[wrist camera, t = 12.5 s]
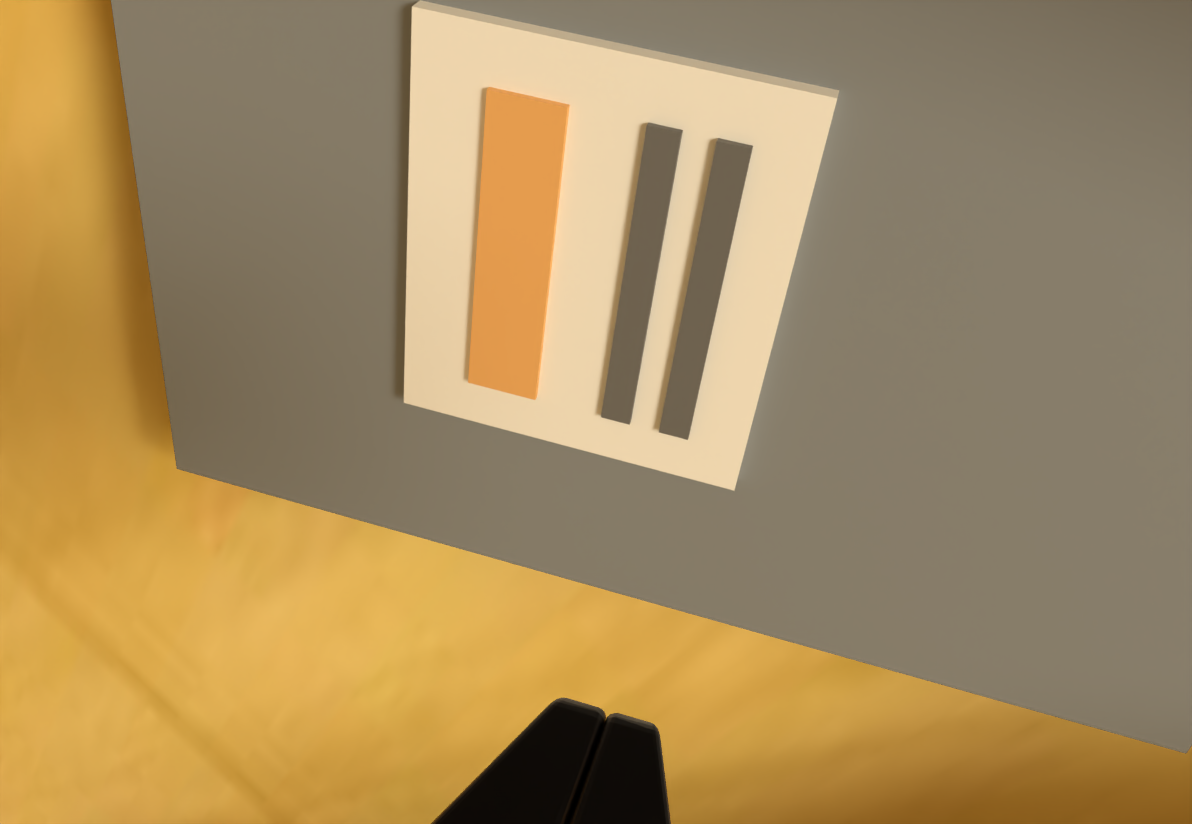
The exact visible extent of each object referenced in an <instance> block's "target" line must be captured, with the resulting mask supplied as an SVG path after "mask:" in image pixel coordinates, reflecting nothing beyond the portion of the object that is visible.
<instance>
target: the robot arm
mask: <svg viewBox="0 0 1192 824" xmlns="http://www.w3.org/2000/svg"><path fill="white" fill-rule="evenodd" d="M431 824H671V821H670V813H669V805H668V797H667V789H666V781H665V773H664V764H663V756H662V748H661V740H660V734H659V731H658V729H657V727H656V726H655V725H654V724H652V723H650V722H647V721H643V720H640V719H636V718H633V717H629V716H626V715H623V714H619V713H614V714H610V715H609V716H608V717H607V719H606V715H605V712H604V711H603V710H602V709H600V708H599V707H595V706H592V705H588V704H585V703H582V702H578V701H575V700H571V699H568V698H559V699H556V700H555V701H553V702H552V703H551V704H550V705H548V706H547V707H546V708H545V709H544V710H543V711H542V712H541V713H540V714H539V715H538V716H537V717H536V718H535V719H534V720H533V721H532V722H531V723H530V724H529V725H528V727H527V728H526V729H525V730H524V731H523V732H522V733H521V734H520V735H519V736H518V737H517V738H516V739H515V740H514V741H513V742H512V743H511V744H510V745H509V746H508V747H507V748H506V749H505V750H504V751H503V752H502V753H501V754H500V755H499V756H498V757H497V758H496V759H495V760H494V761H493V762H492V763H491V764H490V765H489V766H488V767H487V768H486V769H485V770H484V771H483V772H482V773H481V774H480V775H479V776H478V777H477V778H476V779H475V780H474V781H473V782H472V783H471V784H470V785H469V786H468V787H467V788H466V789H465V790H464V791H463V792H462V793H461V794H460V795H459V796H458V797H457V798H456V799H455V800H454V801H453V802H452V803H451V804H450V805H449V806H448V807H447V808H446V809H445V810H444V811H443V812H442V813H441V814H440V815H439V816H438V817H437V818H436V819H435V820H434V821H433V822H432V823H431Z"/></svg>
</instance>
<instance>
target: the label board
mask: <svg viewBox="0 0 1192 824" xmlns="http://www.w3.org/2000/svg"><path fill="white" fill-rule="evenodd" d="M111 5H112V12H113V19H114V26H115V33H116V40H117V47H118V54H119V62H120V69H121V76H122V83H123V90H124V97H125V104H126V111H127V118H128V125H129V133H130V140H131V147H132V154H133V161H134V168H135V175H136V182H137V189H138V196H139V203H140V211H141V218H142V225H143V232H144V239H145V246H146V253H147V260H148V267H149V274H150V281H151V289H152V296H153V303H154V310H155V317H156V324H157V331H158V338H159V345H160V352H161V360H162V367H163V374H164V381H165V388H166V395H167V402H168V409H169V416H170V423H171V430H172V438H173V445H174V452H175V459H176V466H177V469H179V470H183V471H187V472H190V473H194V474H197V475H201V476H204V477H208V478H211V479H215V480H218V481H222V482H226V483H229V484H233V485H236V486H240V487H243V488H247V489H250V490H254V491H257V492H261V493H265V494H268V495H272V496H275V497H279V498H282V499H286V500H289V501H293V502H296V503H300V504H304V505H307V506H311V507H314V508H318V509H321V510H325V511H328V512H332V513H335V514H339V515H343V516H346V517H350V518H353V519H357V520H360V521H364V522H367V523H371V524H374V525H378V526H381V527H385V528H389V529H392V530H396V531H399V532H403V533H406V534H410V535H413V536H417V537H420V538H424V539H428V540H431V541H435V542H438V543H442V544H445V545H449V546H452V547H456V548H459V549H463V550H467V551H470V552H474V553H477V554H481V555H484V556H488V557H491V558H495V559H498V560H502V561H506V562H509V563H513V564H516V565H520V566H523V567H527V568H530V569H534V570H537V571H541V572H545V573H548V574H552V575H555V576H559V577H562V578H566V579H569V580H573V581H576V582H580V583H584V584H587V585H591V586H594V587H598V588H601V589H605V590H608V591H612V592H615V593H619V594H622V595H626V596H630V597H633V598H637V599H640V600H644V601H647V602H651V603H654V604H658V605H661V606H665V607H669V608H672V609H676V610H679V611H683V612H686V613H690V614H693V615H697V616H700V617H704V618H708V619H711V620H715V621H718V622H722V623H725V624H729V625H732V626H736V627H739V628H743V629H747V630H750V631H754V632H757V633H761V634H764V635H768V636H771V637H775V638H778V639H782V640H786V641H789V642H793V643H796V644H800V645H803V646H807V647H810V648H814V649H817V650H821V651H825V652H828V653H832V654H835V655H839V656H842V657H846V658H849V659H853V660H856V661H860V662H863V663H867V664H871V665H874V666H878V667H881V668H885V669H888V670H892V671H895V672H899V673H902V674H906V675H910V676H913V677H917V678H920V679H924V680H927V681H931V682H934V683H938V684H941V685H945V686H949V687H952V688H956V689H959V690H963V691H966V692H970V693H973V694H977V695H980V696H984V697H988V698H991V699H995V700H998V701H1002V702H1005V703H1009V704H1012V705H1016V706H1019V707H1023V708H1027V709H1030V710H1034V711H1037V712H1041V713H1044V714H1048V715H1051V716H1055V717H1058V718H1062V719H1066V720H1069V721H1073V722H1076V723H1080V724H1083V725H1087V726H1090V727H1094V728H1097V729H1101V730H1104V731H1108V732H1112V733H1115V734H1119V735H1122V736H1126V737H1129V738H1133V739H1136V740H1140V741H1143V742H1147V743H1151V744H1154V745H1158V746H1161V747H1165V748H1168V749H1172V750H1175V751H1179V752H1182V753H1187V751H1188V750H1189V749H1190V747H1191V746H1192V0H111Z"/></svg>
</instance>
